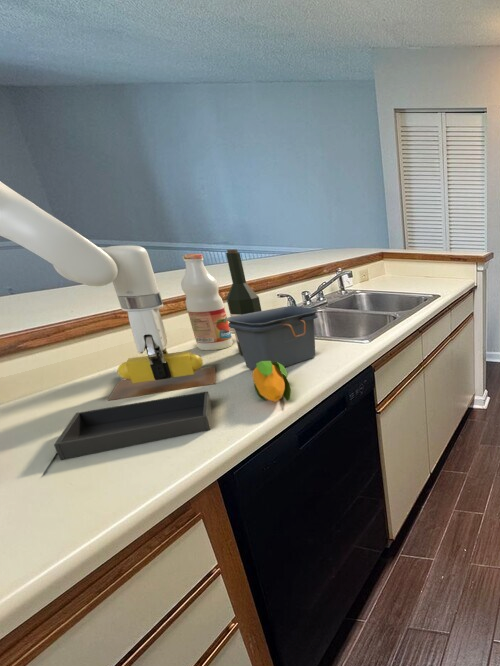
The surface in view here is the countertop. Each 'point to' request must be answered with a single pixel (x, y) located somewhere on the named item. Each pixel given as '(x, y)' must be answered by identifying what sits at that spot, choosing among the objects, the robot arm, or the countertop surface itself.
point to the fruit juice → (205, 305)
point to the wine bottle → (240, 290)
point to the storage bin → (276, 335)
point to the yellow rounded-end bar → (177, 362)
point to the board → (163, 384)
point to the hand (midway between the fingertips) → (164, 374)
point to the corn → (271, 381)
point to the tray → (134, 424)
